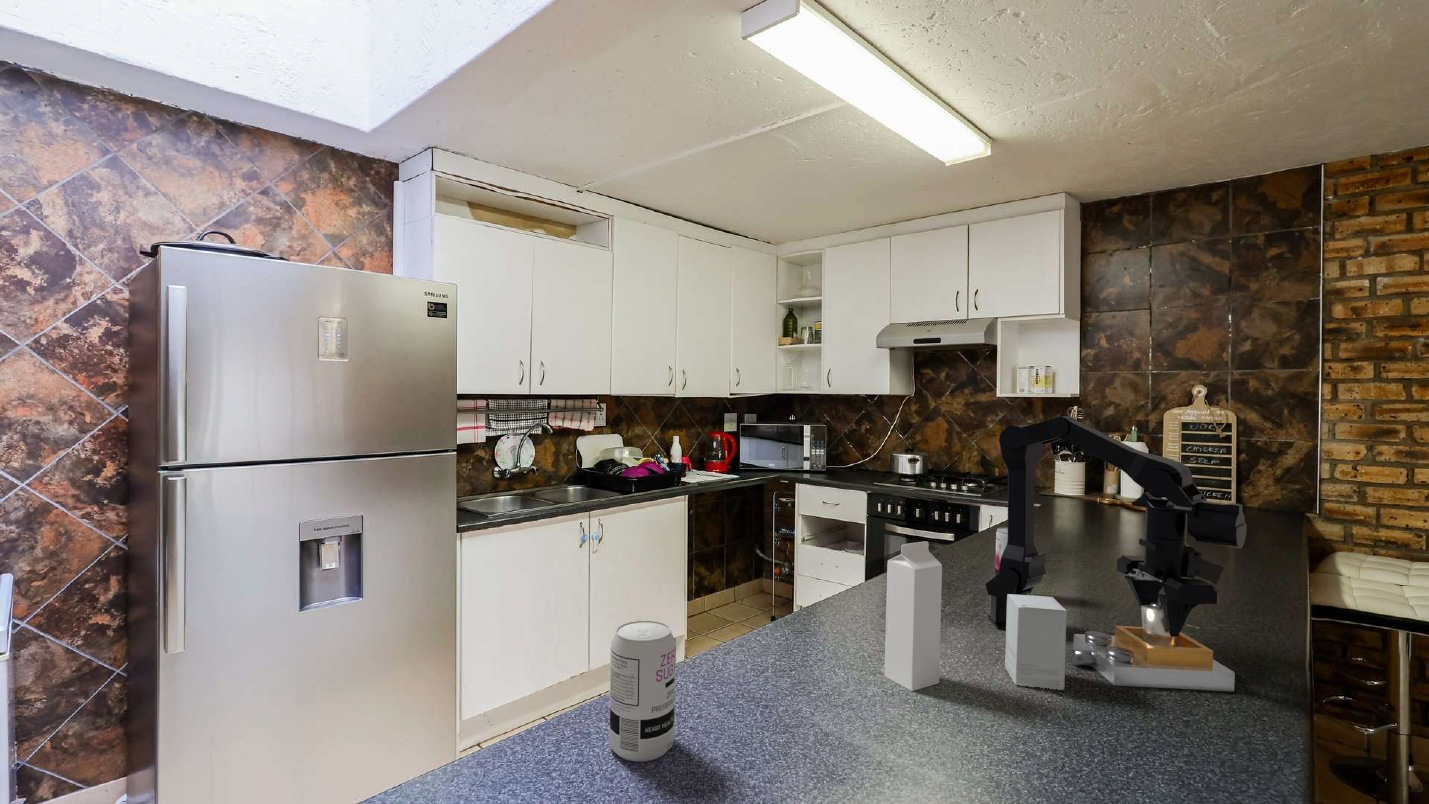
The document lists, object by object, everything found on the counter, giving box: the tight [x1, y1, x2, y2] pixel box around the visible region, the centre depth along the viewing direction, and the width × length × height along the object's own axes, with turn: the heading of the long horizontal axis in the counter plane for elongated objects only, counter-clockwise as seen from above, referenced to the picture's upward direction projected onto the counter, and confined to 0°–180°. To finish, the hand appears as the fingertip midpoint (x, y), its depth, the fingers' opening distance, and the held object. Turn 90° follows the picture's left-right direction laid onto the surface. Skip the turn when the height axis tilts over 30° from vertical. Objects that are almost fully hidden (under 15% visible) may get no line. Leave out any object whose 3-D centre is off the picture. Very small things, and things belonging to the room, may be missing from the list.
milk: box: [884, 541, 943, 692], centre depth 105 cm, size 6×6×22 cm
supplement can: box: [608, 620, 677, 762], centre depth 85 cm, size 8×8×15 cm
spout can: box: [1140, 602, 1190, 647], centre depth 112 cm, size 7×5×8 cm
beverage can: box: [994, 527, 1008, 577], centre depth 150 cm, size 6×7×15 cm
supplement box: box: [1004, 594, 1068, 691], centre depth 107 cm, size 7×7×13 cm
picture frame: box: [1070, 625, 1236, 692], centre depth 112 cm, size 21×14×6 cm, turn 86°
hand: (1161, 628), depth 111 cm, fingers open, 6 cm apart
